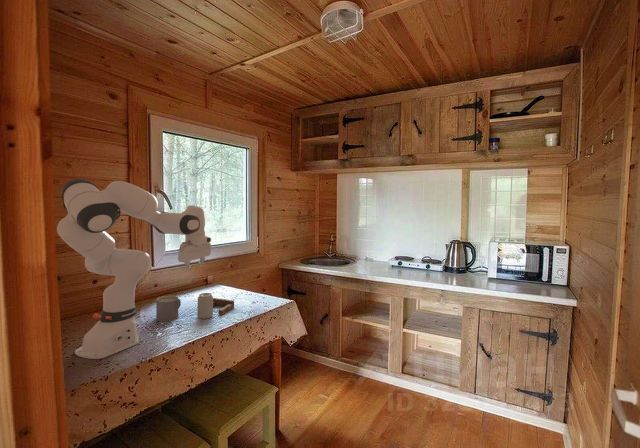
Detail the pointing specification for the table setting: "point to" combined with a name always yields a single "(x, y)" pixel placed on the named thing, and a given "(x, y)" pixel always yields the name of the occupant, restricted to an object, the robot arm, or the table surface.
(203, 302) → the can
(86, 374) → the table surface
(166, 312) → the coffee mug
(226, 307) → the cradle
